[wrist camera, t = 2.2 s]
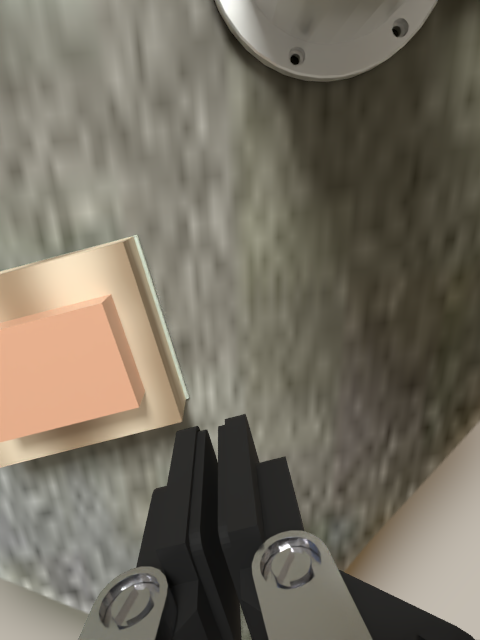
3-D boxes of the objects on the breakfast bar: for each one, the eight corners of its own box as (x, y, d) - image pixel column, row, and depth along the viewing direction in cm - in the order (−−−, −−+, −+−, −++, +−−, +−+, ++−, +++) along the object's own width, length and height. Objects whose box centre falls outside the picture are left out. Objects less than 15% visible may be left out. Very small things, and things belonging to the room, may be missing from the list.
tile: (111, 294, 24) (101, 302, 22) (145, 391, 26) (139, 407, 24) (-29, 330, 24) (-51, 342, 22) (14, 424, 26) (-3, 443, 24)
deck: (133, 236, 26) (122, 242, 23) (185, 399, 29) (182, 421, 26) (-59, 287, 26) (-93, 299, 24) (13, 442, 30) (-9, 469, 27)
